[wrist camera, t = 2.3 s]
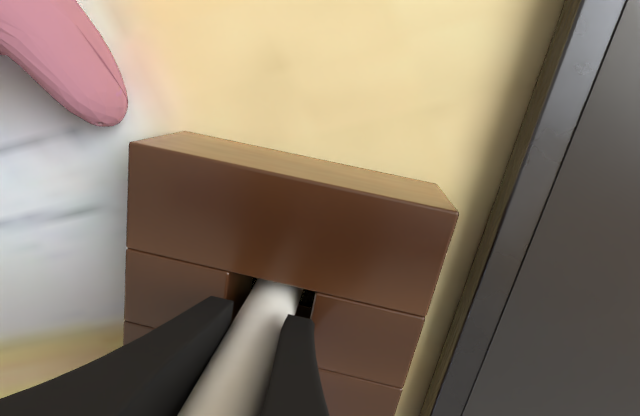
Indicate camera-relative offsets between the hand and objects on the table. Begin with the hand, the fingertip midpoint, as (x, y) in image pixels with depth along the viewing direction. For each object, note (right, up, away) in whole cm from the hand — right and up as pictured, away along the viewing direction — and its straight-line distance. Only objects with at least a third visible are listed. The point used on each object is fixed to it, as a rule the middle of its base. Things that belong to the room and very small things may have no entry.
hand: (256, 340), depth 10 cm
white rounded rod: (0, +1, +4) cm, 4 cm away
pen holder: (0, -1, +5) cm, 5 cm away
